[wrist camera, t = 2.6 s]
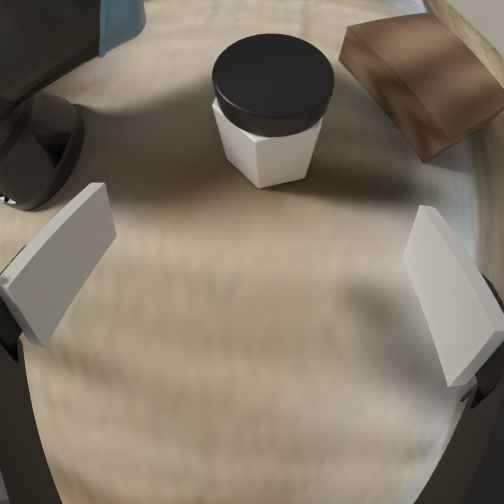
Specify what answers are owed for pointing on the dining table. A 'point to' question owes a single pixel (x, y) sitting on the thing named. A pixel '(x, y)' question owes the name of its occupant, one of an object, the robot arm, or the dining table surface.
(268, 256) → the dining table surface
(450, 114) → the walnut block
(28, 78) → the robot arm
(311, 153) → the jar
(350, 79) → the dining table surface
